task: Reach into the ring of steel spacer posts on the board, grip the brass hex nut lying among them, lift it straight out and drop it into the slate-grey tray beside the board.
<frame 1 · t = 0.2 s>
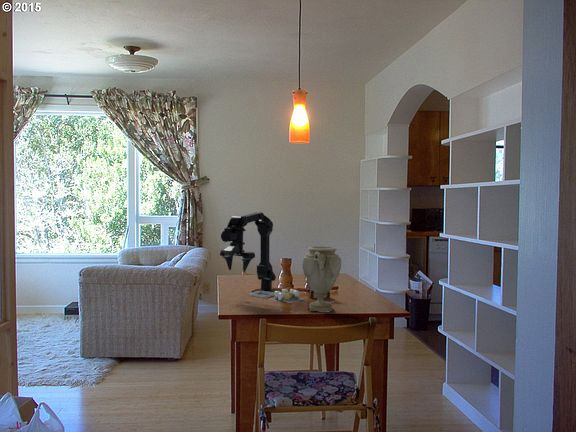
hand: (237, 270, 287), 15 cm above the table, tool pointing down, fingers open, 9 cm apart
urn: (320, 310, 267), on the table
spacer posts: (286, 295, 286), on the spacer board, point 3 cm above the table
tray: (262, 296, 294), on the table
ammunition clip: (319, 300, 291), on the table
spacer board: (286, 300, 286), on the table
brass nut: (286, 299, 286), point 1 cm above the table, touching spacer board
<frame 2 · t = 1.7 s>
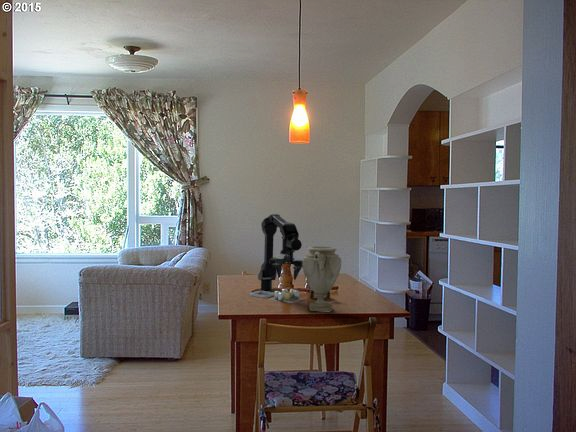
hand: (287, 278, 286), 11 cm above the table, tool pointing down, fingers open, 9 cm apart
nothing on the table moved.
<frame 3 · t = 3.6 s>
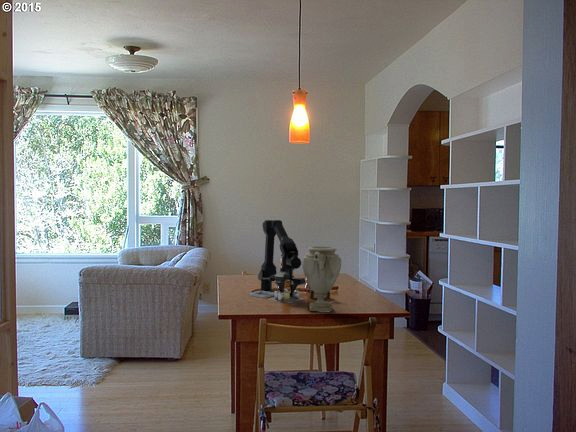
hand: (286, 296, 286), 2 cm above the table, tool pointing down, fingers closed on brass nut, 5 cm apart
brass nut: (286, 299, 286), point 1 cm above the table, touching gripper, spacer board
everything else where it was.
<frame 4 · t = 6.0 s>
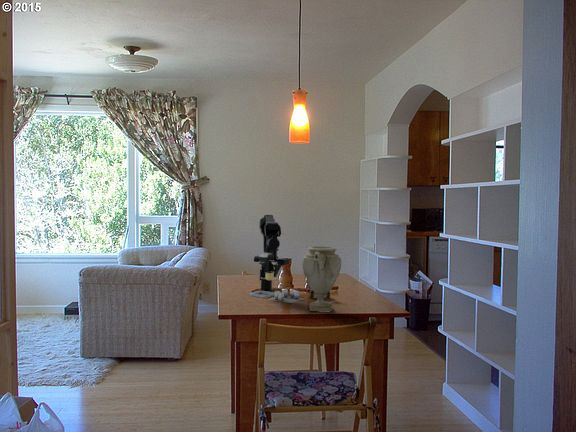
hand: (270, 276, 291), 11 cm above the table, tool pointing down, fingers closed on brass nut, 5 cm apart
brass nut: (270, 279, 292), point 10 cm above the table, touching gripper
everything else where it was.
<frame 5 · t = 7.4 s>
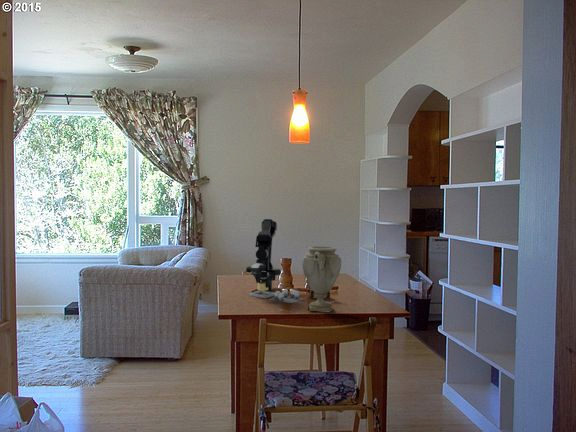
hand: (262, 287, 294), 5 cm above the table, tool pointing down, fingers closed on brass nut, 5 cm apart
brass nut: (262, 289, 294), point 4 cm above the table, touching gripper
everything else where it was.
when the fingers open (3 cm above the table, at t = 8.6 s): brass nut drops 1 cm, resting on tray.
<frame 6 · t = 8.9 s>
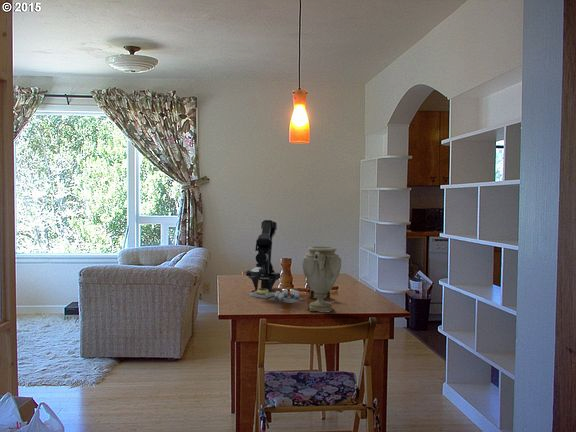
hand: (262, 290, 294), 3 cm above the table, tool pointing down, fingers open, 8 cm apart
brass nut: (262, 296, 294), resting on tray
everything else where it was.
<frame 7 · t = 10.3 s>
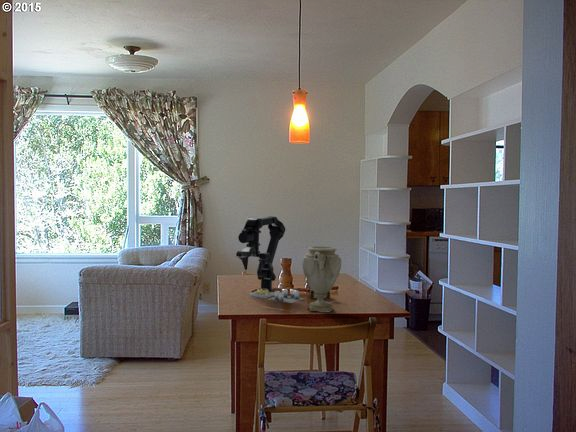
hand: (253, 270, 298), 13 cm above the table, tool pointing down, fingers open, 9 cm apart
nothing on the table moved.
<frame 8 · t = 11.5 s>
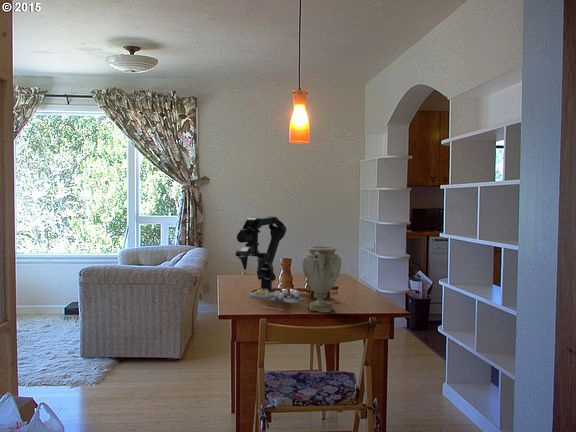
hand: (252, 270, 299), 13 cm above the table, tool pointing down, fingers open, 9 cm apart
nothing on the table moved.
at the end: brass nut 0.0 cm off-centre on the tray, point 0.4 cm above the tray's base; the gripper is holding nothing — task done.
